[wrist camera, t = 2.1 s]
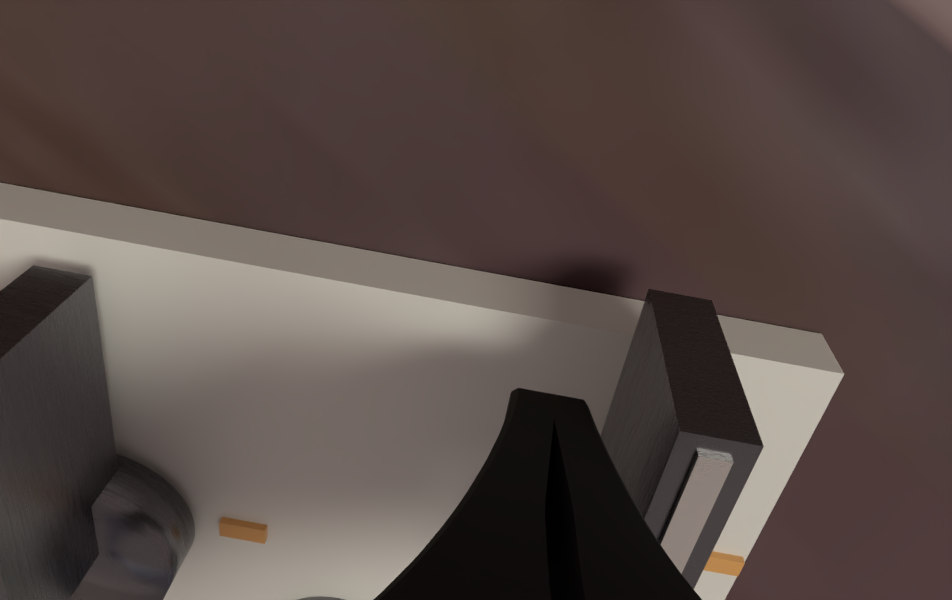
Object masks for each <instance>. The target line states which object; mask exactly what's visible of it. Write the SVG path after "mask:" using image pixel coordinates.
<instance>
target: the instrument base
mask: <svg viewBox="0 0 952 600" xmlns="http://www.w3.org/2000/svg"><path fill="white" fill-rule="evenodd" d="M33 265H35V266H41V267H46V268H52V269H57V270H63V271H68V272H74V273H79V274H84V275H90V276H92V278H93V285H94V293H95V300H96V307H97V315H98V322H99V330H100V337H101V344H102V352H103V359H104V367H105V374H106V381H107V389H108V396H109V404H110V411H111V418H112V426H113V433H114V441H115V448H116V454H118V455H121V456H124V457H127V458H129V459H132V460H134V461H136V462H138V463H140V464H142V465H144V466H146V467H148V468H149V469H151V470H153V471H154V472H156V473H157V474H159V475H160V476H161V477H163V478H164V479H165V480H166V481H168V482H169V483H170V484H171V485H172V486H173V487H174V488H175V489H176V490H177V491H178V493H179V494H180V495H181V496H182V497H183V499H184V500H185V502H186V503H187V505H188V507H189V509H190V511H191V513H192V516H193V519H194V524H195V537H194V541H193V544H192V546H191V548H190V550H189V552H188V554H187V556H186V557H185V559H184V561H183V563H182V565H181V567H180V569H179V571H178V573H177V574H176V576H175V578H174V580H173V582H172V584H171V586H170V588H169V590H168V591H167V593H166V595H165V597H164V599H163V600H374V599H375V598H376V597H377V596H378V595H379V594H380V593H381V592H382V591H383V590H384V589H385V588H386V587H387V586H388V585H389V584H390V583H391V582H392V581H393V580H394V579H395V578H396V577H397V576H398V575H399V574H400V573H401V572H402V571H403V570H404V569H405V568H406V567H407V566H408V565H409V564H410V563H411V562H412V561H413V560H414V559H415V558H416V557H417V556H418V554H419V553H420V552H421V551H422V550H423V549H424V548H425V546H426V545H427V544H428V543H429V542H430V540H431V539H432V538H433V537H434V536H435V534H436V533H437V532H438V531H439V530H440V528H441V527H442V526H443V525H444V523H445V522H446V521H447V519H448V518H449V517H450V515H451V514H452V513H453V511H454V510H455V509H456V507H457V506H458V504H459V503H460V501H461V500H462V499H463V497H464V496H465V494H466V493H467V491H468V490H469V488H470V486H471V485H472V483H473V481H474V480H475V478H476V476H477V475H478V473H479V472H480V470H481V468H482V467H483V465H484V463H485V461H486V460H487V458H488V456H489V454H490V452H491V450H492V448H493V446H494V444H495V442H496V440H497V438H498V436H499V433H500V431H501V428H502V426H503V423H504V420H505V416H506V411H507V407H508V403H509V398H510V394H511V391H513V390H515V389H517V388H523V389H528V390H534V391H539V392H545V393H550V394H556V395H561V396H567V397H572V398H578V399H583V400H584V401H585V402H586V404H587V405H588V407H589V410H590V412H591V415H592V417H593V420H594V422H595V425H596V427H597V429H598V432H599V434H600V436H601V433H602V430H603V427H604V424H605V421H606V418H607V414H608V411H609V408H610V405H611V402H612V399H613V396H614V393H615V390H616V387H617V384H618V381H619V378H620V375H621V372H622V369H623V366H624V363H625V360H626V357H627V354H628V351H629V348H630V345H631V341H632V338H633V335H634V332H635V329H636V326H637V323H638V320H639V317H640V314H641V311H642V308H643V305H644V302H645V301H640V300H635V299H629V298H624V297H619V296H613V295H608V294H602V293H597V292H591V291H586V290H581V289H575V288H570V287H564V286H559V285H553V284H548V283H543V282H537V281H532V280H526V279H521V278H515V277H510V276H505V275H499V274H494V273H488V272H483V271H477V270H472V269H467V268H461V267H456V266H450V265H445V264H439V263H434V262H429V261H423V260H418V259H412V258H407V257H401V256H396V255H391V254H385V253H380V252H374V251H369V250H363V249H358V248H353V247H347V246H342V245H336V244H331V243H325V242H320V241H315V240H309V239H304V238H298V237H293V236H287V235H282V234H277V233H271V232H266V231H260V230H255V229H249V228H244V227H239V226H233V225H228V224H222V223H217V222H211V221H206V220H201V219H195V218H190V217H184V216H179V215H173V214H168V213H163V212H157V211H152V210H146V209H141V208H135V207H130V206H125V205H119V204H114V203H108V202H103V201H97V200H92V199H87V198H81V197H76V196H70V195H65V194H59V193H54V192H49V191H43V190H38V189H32V188H27V187H21V186H16V185H11V184H5V183H0V291H1V290H2V289H3V288H5V287H6V286H7V285H8V284H10V283H11V282H12V281H14V280H15V279H16V278H17V277H19V276H20V275H21V274H23V273H24V272H25V271H26V270H28V269H29V268H30V267H32V266H33ZM717 316H718V319H719V322H720V325H721V328H722V331H723V333H724V336H725V339H726V342H727V345H728V347H729V350H730V353H731V356H732V359H733V361H734V364H735V367H736V370H737V373H738V376H739V378H740V381H741V384H742V387H743V390H744V392H745V395H746V398H747V401H748V404H749V406H750V409H751V412H752V415H753V418H754V420H755V423H756V426H757V429H758V432H759V435H760V437H761V440H762V443H763V446H764V447H763V449H762V451H761V453H760V455H759V457H758V459H757V461H756V463H755V465H754V468H753V470H752V472H751V474H750V476H749V478H748V480H747V482H746V484H745V486H744V488H743V490H742V492H741V494H740V496H739V498H738V500H737V502H736V504H735V506H734V508H733V510H732V512H731V515H730V517H729V519H728V521H727V523H726V525H725V527H724V529H723V531H722V533H721V535H720V537H719V539H718V541H717V543H716V545H715V547H714V549H713V551H712V553H711V555H710V557H709V559H708V561H707V564H706V566H705V568H704V570H703V572H702V574H701V576H700V578H699V580H698V582H697V584H696V586H695V588H694V591H695V592H696V593H697V594H698V595H699V597H700V598H701V599H702V600H725V598H726V596H727V594H728V592H729V590H730V589H731V587H732V585H733V583H734V581H735V579H736V577H737V576H738V575H739V573H740V571H741V570H742V568H743V566H744V564H745V560H746V558H747V557H748V555H749V553H750V551H751V549H752V547H753V545H754V543H755V541H756V540H757V538H758V536H759V534H760V532H761V530H762V528H763V526H764V524H765V523H766V521H767V519H768V517H769V515H770V513H771V511H772V509H773V507H774V506H775V504H776V502H777V500H778V498H779V496H780V494H781V492H782V491H783V489H784V487H785V485H786V483H787V481H788V479H789V477H790V475H791V474H792V472H793V470H794V468H795V466H796V464H797V462H798V460H799V458H800V457H801V455H802V453H803V451H804V449H805V447H806V445H807V443H808V441H809V440H810V438H811V436H812V434H813V432H814V430H815V428H816V426H817V424H818V423H819V421H820V419H821V417H822V415H823V413H824V411H825V409H826V408H827V406H828V404H829V402H830V400H831V398H832V396H833V394H834V392H835V391H836V389H837V387H838V385H839V383H840V381H841V379H842V377H843V375H844V373H843V371H842V369H841V367H840V366H839V364H838V362H837V360H836V359H835V357H834V355H833V353H832V351H831V350H830V348H829V346H828V344H827V343H826V341H825V339H824V337H823V335H822V334H820V333H814V332H809V331H803V330H798V329H792V328H787V327H782V326H776V325H771V324H765V323H760V322H754V321H749V320H744V319H738V318H733V317H727V316H722V315H717Z"/></svg>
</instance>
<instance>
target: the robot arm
mask: <svg viewBox="0 0 952 600" xmlns="http://www.w3.org/2000/svg"><path fill="white" fill-rule="evenodd" d="M374 600H702V599H701V598H700V597H699V595H698V594H697V593H696V592H695V591H694V590H693V588H692V587H691V586H690V584H689V583H688V582H687V581H686V579H685V578H684V577H683V575H682V574H681V573H680V572H679V570H678V569H677V567H676V566H675V565H674V563H673V562H672V560H671V559H670V558H669V556H668V555H667V553H666V552H665V551H664V549H663V548H662V546H661V545H660V543H659V542H658V540H657V539H656V537H655V536H654V534H653V533H652V531H651V529H650V528H649V526H648V525H647V523H646V521H645V520H644V518H643V516H642V515H641V513H640V511H639V510H638V508H637V507H636V505H635V503H634V501H633V499H632V498H631V496H630V494H629V492H628V491H627V489H626V487H625V485H624V483H623V481H622V479H621V477H620V475H619V473H618V472H617V470H616V468H615V466H614V464H613V462H612V460H611V458H610V456H609V454H608V451H607V449H606V447H605V445H604V443H603V441H602V438H601V436H600V434H599V432H598V429H597V427H596V425H595V422H594V420H593V417H592V415H591V412H590V410H589V407H588V405H587V404H586V402H585V401H584V400H583V399H578V398H572V397H567V396H561V395H556V394H550V393H545V392H539V391H534V390H528V389H523V388H517V389H515V390H513V391H511V394H510V398H509V403H508V407H507V411H506V416H505V420H504V423H503V426H502V428H501V431H500V433H499V436H498V438H497V440H496V442H495V444H494V446H493V448H492V450H491V452H490V454H489V456H488V458H487V460H486V461H485V463H484V465H483V467H482V468H481V470H480V472H479V473H478V475H477V476H476V478H475V480H474V481H473V483H472V485H471V486H470V488H469V490H468V491H467V493H466V494H465V496H464V497H463V499H462V500H461V501H460V503H459V504H458V506H457V507H456V509H455V510H454V511H453V513H452V514H451V515H450V517H449V518H448V519H447V521H446V522H445V523H444V525H443V526H442V527H441V528H440V530H439V531H438V532H437V533H436V534H435V536H434V537H433V538H432V539H431V540H430V542H429V543H428V544H427V545H426V546H425V548H424V549H423V550H422V551H421V552H420V553H419V554H418V556H417V557H416V558H415V559H414V560H413V561H412V562H411V563H410V564H409V565H408V566H407V567H406V568H405V569H404V570H403V571H402V572H401V573H400V574H399V575H398V576H397V577H396V578H395V579H394V580H393V581H392V582H391V583H390V584H389V585H388V586H387V587H386V588H385V589H384V590H383V591H382V592H381V593H380V594H379V595H378V596H377V597H376V598H375V599H374Z"/></svg>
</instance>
